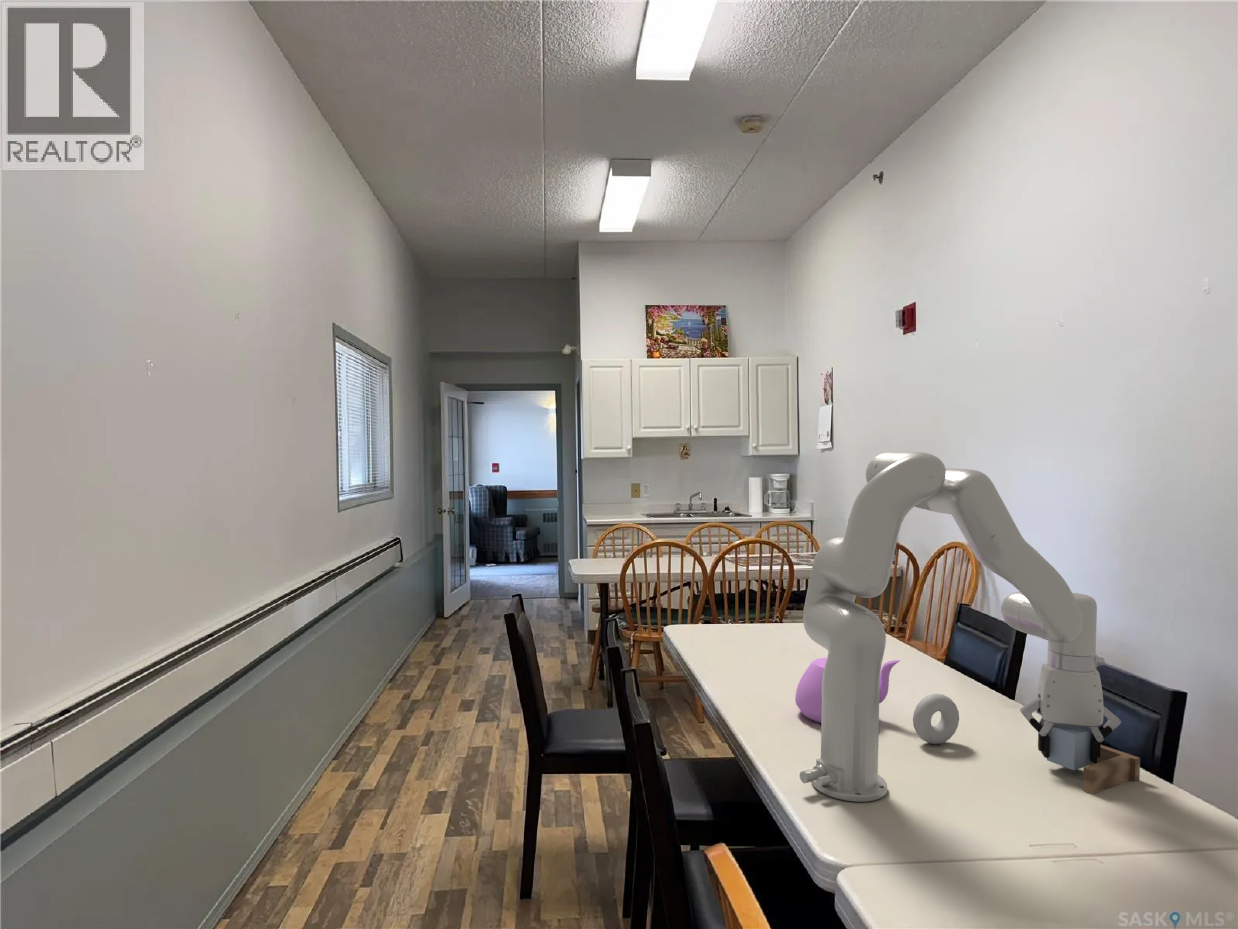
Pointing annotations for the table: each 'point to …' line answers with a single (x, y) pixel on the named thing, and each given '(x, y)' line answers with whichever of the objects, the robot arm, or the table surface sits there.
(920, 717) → the donut
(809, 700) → the teapot
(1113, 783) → the corner stop
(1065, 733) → the block
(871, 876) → the table surface
